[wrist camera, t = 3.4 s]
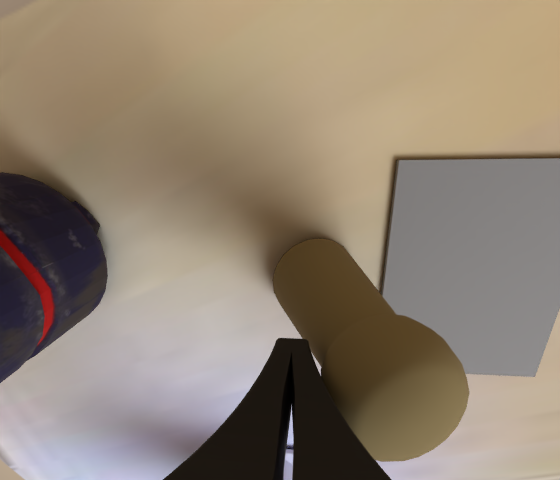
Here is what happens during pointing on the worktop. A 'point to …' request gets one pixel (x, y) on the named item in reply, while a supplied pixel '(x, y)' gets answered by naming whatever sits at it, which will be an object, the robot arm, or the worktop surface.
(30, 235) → the grenade
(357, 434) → the cork
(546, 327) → the mat
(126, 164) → the worktop surface
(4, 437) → the worktop surface
